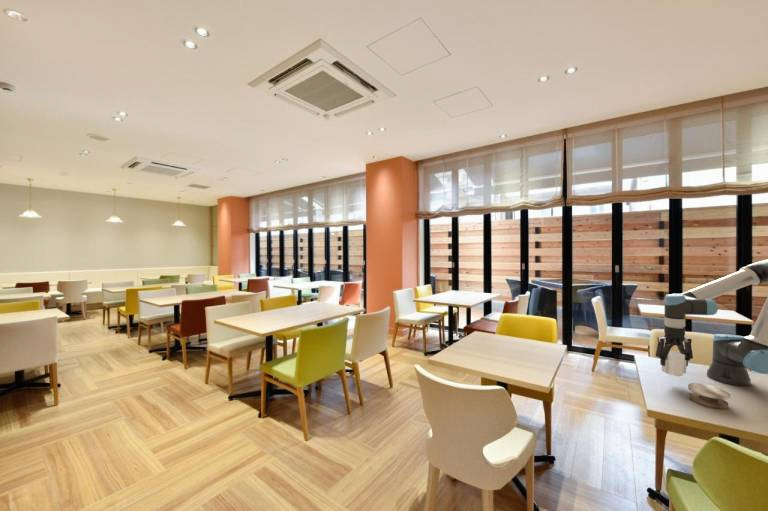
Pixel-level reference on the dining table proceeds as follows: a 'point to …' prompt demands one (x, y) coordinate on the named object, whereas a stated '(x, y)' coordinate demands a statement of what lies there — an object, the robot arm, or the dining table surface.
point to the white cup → (675, 363)
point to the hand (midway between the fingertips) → (673, 372)
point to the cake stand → (708, 396)
